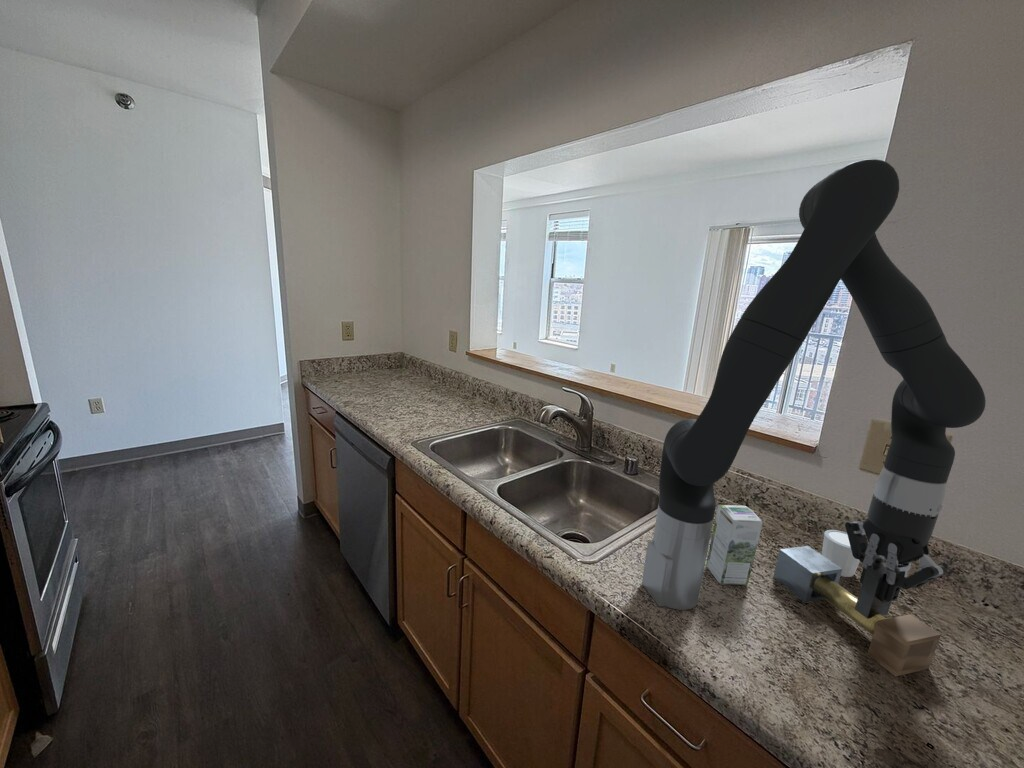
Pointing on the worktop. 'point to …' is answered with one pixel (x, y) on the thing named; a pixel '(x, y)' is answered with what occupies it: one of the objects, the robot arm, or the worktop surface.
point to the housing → (804, 571)
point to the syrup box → (733, 544)
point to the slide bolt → (866, 605)
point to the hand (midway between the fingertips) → (876, 594)
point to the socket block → (903, 644)
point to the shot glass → (839, 551)
